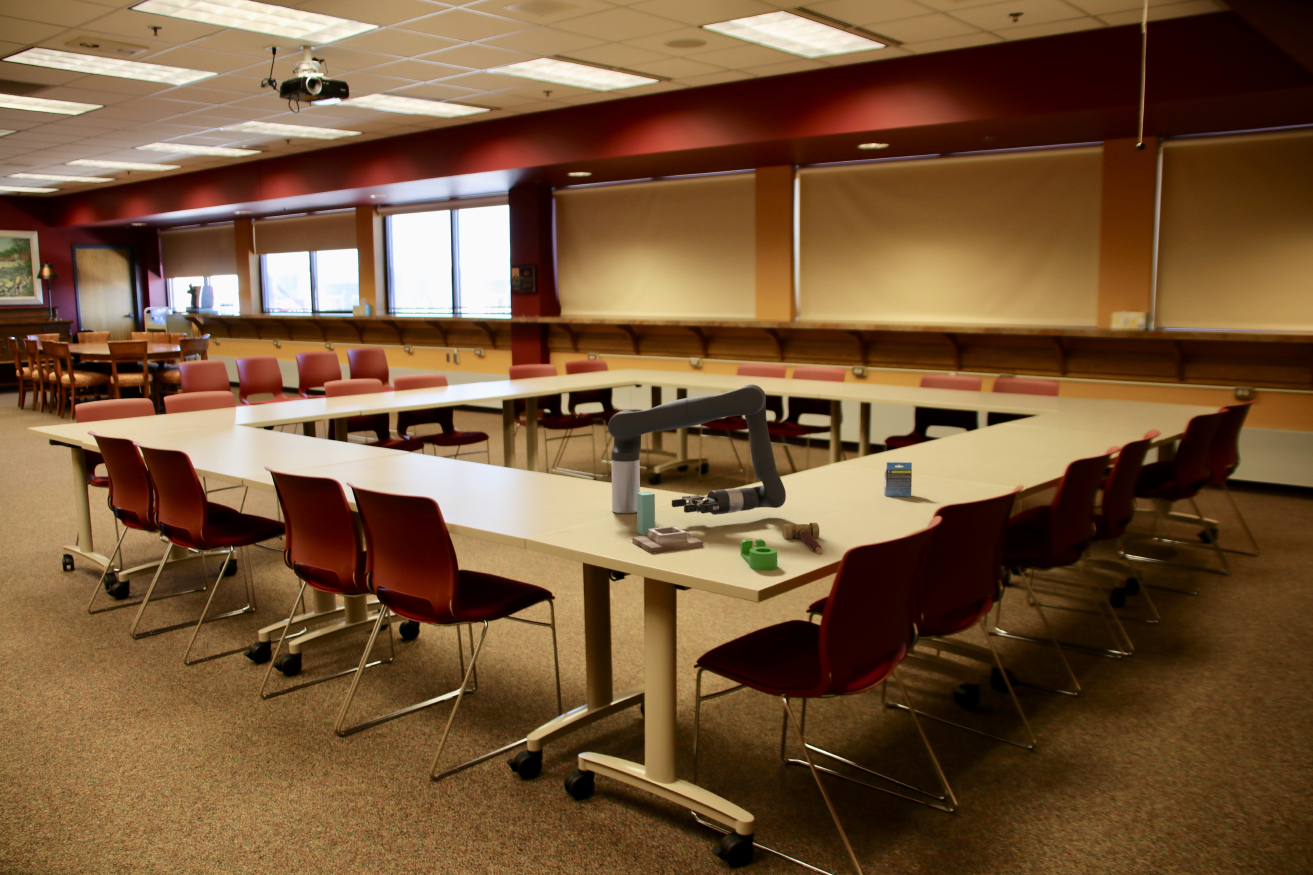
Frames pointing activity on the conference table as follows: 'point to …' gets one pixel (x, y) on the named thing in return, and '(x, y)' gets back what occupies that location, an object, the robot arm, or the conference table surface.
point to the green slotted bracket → (759, 555)
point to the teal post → (645, 512)
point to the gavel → (803, 534)
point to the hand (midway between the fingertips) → (678, 506)
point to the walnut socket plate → (667, 540)
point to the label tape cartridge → (898, 479)
